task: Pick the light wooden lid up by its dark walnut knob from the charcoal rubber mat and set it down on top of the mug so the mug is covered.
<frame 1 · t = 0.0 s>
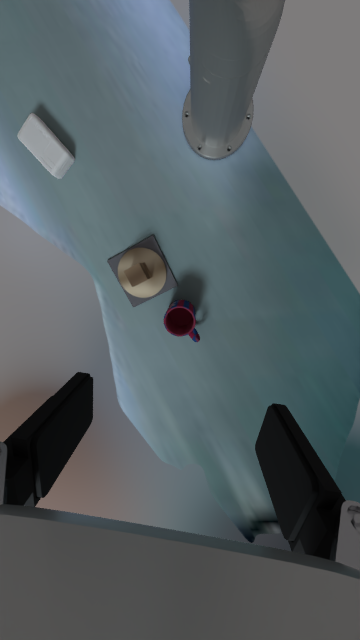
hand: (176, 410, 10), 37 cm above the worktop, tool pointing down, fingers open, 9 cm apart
mat: (143, 273, 45), on the worktop
lid: (142, 273, 45), resting on mat
mug: (185, 318, 48), on the worktop
soap: (53, 152, 40), on the worktop
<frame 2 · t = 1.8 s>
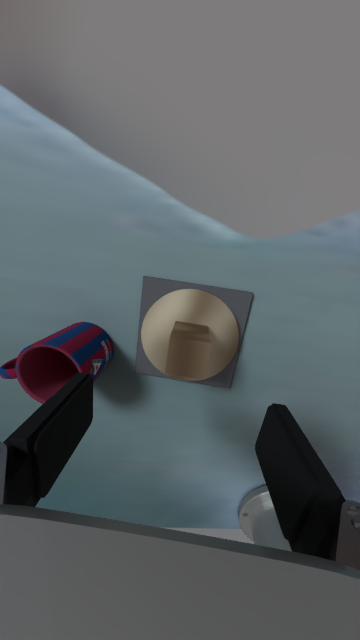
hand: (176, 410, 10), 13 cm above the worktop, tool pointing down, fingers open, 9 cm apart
mat: (189, 334, 23), on the worktop
lid: (189, 335, 23), resting on mat
mug: (76, 345, 25), on the worktop
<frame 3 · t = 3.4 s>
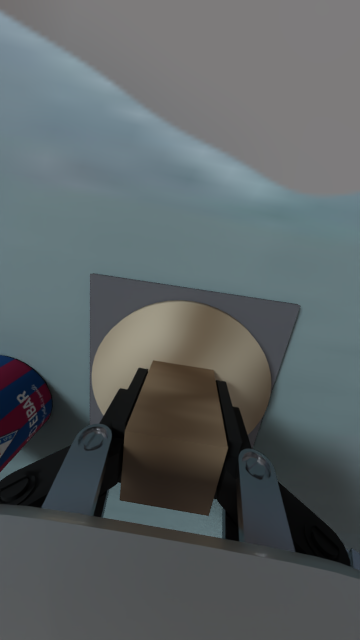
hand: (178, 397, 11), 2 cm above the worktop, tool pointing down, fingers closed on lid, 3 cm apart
mat: (179, 376, 13), on the worktop
lid: (179, 382, 13), resting on mat, touching gripper
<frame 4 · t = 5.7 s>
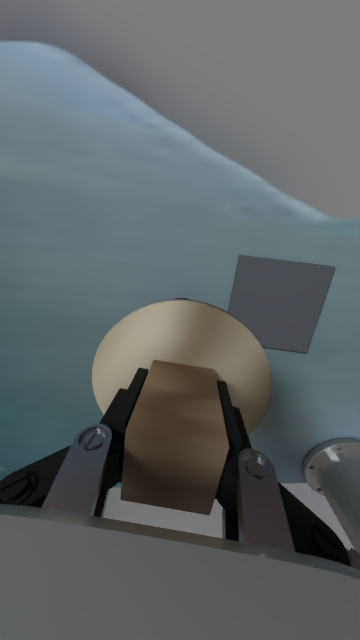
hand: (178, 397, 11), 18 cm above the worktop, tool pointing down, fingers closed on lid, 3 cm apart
mat: (273, 306, 27), on the worktop
lid: (180, 382, 13), point 16 cm above the worktop, touching gripper
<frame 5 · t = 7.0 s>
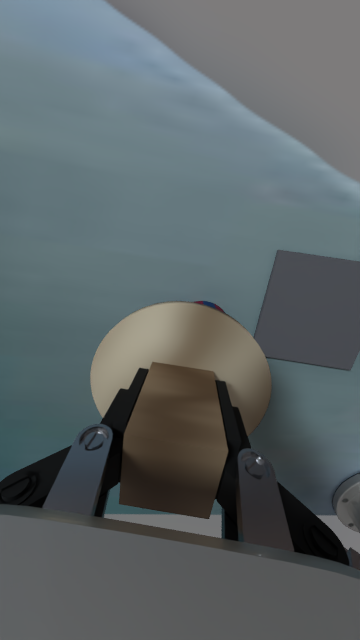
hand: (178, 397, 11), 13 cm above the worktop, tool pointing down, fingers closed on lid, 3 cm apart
mat: (315, 313, 22), on the worktop
lid: (179, 384, 13), point 11 cm above the worktop, touching gripper
when the fingers open (10 cm above the worktop, at t = 7.9 s): lid drops 2 cm, resting on mug.
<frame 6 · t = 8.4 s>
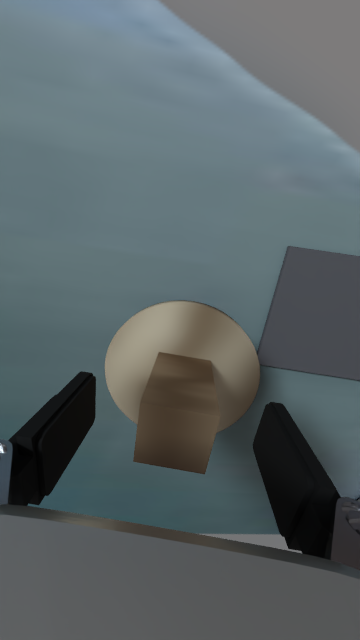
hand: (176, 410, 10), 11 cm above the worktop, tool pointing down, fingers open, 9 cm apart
mat: (329, 318, 20), on the worktop
lid: (181, 372, 15), point 7 cm above the worktop, touching mug
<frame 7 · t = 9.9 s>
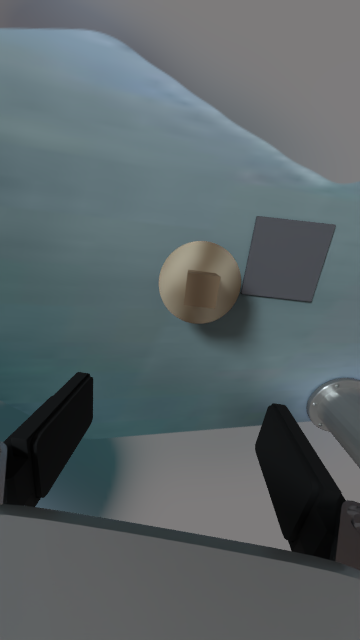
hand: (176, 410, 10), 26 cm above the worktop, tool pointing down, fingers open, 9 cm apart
mat: (284, 261, 32), on the worktop
lid: (199, 284, 27), point 7 cm above the worktop, touching mug
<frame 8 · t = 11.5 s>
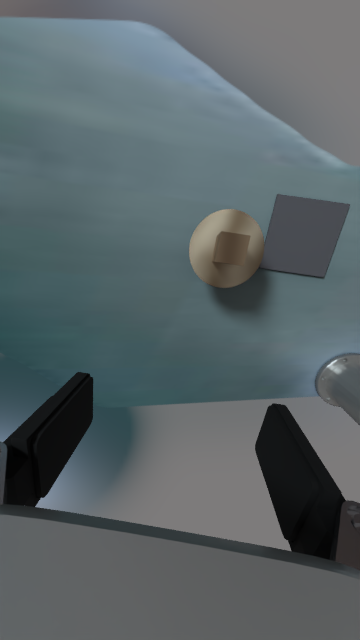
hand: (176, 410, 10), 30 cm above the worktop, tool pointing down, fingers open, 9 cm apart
mat: (300, 238, 35), on the worktop
lid: (225, 251, 30), point 7 cm above the worktop, touching mug
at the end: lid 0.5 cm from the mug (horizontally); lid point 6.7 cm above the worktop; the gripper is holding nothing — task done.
